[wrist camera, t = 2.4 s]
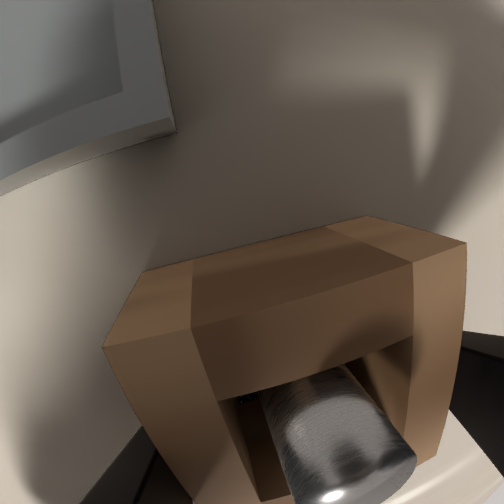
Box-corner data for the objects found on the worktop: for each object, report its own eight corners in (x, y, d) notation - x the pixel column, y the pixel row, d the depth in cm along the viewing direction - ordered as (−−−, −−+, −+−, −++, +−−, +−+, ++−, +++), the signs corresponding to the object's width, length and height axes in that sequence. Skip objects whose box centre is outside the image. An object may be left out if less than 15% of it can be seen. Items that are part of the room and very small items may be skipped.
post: (320, 362, 10) (408, 491, 4) (254, 383, 9) (304, 533, 4) (311, 303, 9) (425, 427, 4) (237, 323, 9) (289, 484, 3)
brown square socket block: (377, 387, 10) (435, 455, 6) (208, 439, 10) (219, 532, 6) (366, 215, 9) (466, 242, 5) (142, 271, 8) (101, 347, 4)
